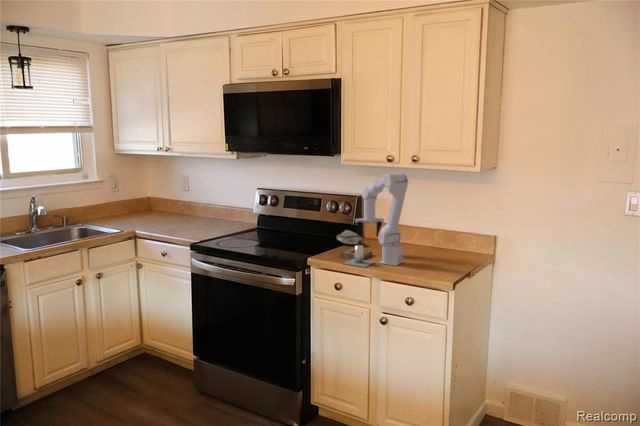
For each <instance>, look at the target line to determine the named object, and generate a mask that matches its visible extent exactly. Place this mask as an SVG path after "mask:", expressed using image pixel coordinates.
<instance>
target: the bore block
mask: <svg viewBox="0 0 640 426" xmlns="http://www.w3.org/2000/svg"><path fill="white" fill-rule="evenodd" d="M371 256H373V250H372V249H364V248H363V260H365V259H367V258H370V257H371ZM339 257H340V258H342V257H343V258H342V259H348V258H350V260H351V259H355V247H350V248H347V249H345V250H343V251H341V252H340V253H339Z"/></svg>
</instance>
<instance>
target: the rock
mask: <svg viewBox="0 0 640 426" xmlns="http://www.w3.org/2000/svg"><path fill="white" fill-rule="evenodd" d="M335 239H336V241H339V242H341V243H342V244H345V245H348V246H351V245H354V246H356V245H360V244H361V243H362V242H363V241H364V238H363V237H361V235H359V234H358V233H356V232H354V231H352V230H348V229H345V230H344V231H342V232H341V233H340V234H337V235H336V238H335Z"/></svg>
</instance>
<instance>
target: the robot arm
mask: <svg viewBox="0 0 640 426" xmlns="http://www.w3.org/2000/svg"><path fill="white" fill-rule="evenodd" d="M409 182H410V181H409V179H408V176H407V174H406V173H404V172H402V173H391V174H389V173H386V174H385V175H383V178H381V180H380V181H377V180H375V181H373V183H372V184H369V186H367V187H366V186H364V187H363V188H362V189H361V195H362V198H363V217H362V218H355V219H354V220H355V224H357V226H358V228H359V231H360V234H361V235H360V236H361V237H362V238H363V237H364V233H363V227H364V226H363V225H364V224H365V223H367V224H369V223H370V224H375V223H376V233H375V234H376V235H375V236H376V238H378V242H379V244H380V245H381V260H380V261H378V263H379V264H382V265H390V266H395V267H396V266H398V265H400V264H401V263H403V262H404V261H403V252H404V251H403V247H402V246H400V245H399V244H400V243H401V240H402V229H400V227H398V226H399V223H400V218H401V214H402V210H403V206H404V201H405V197H406V192H407V190H408V186H409V185H408V184H409ZM384 188H386V190H387V192H388V194H390V195H392V199H391V203H390V208H389V212H388V217H387V221H386V224H385V218H379V217H377V218H376V201H377V197H378V195H379V194H380V193H382V192H383V191H384ZM383 223H384V224H385V225H383ZM382 225H383V227H382ZM381 227H382V228H381Z"/></svg>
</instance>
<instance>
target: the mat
mask: <svg viewBox="0 0 640 426" xmlns="http://www.w3.org/2000/svg"><path fill="white" fill-rule="evenodd" d="M373 264H375V261H373V260H365V259H363V263H355V259H350V260H347V261H344V262H343V263H342V265H343V266H344V265H345V266H350V267H351V266H352V267H358V268H368V267H369V266H371V265H373Z"/></svg>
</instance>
